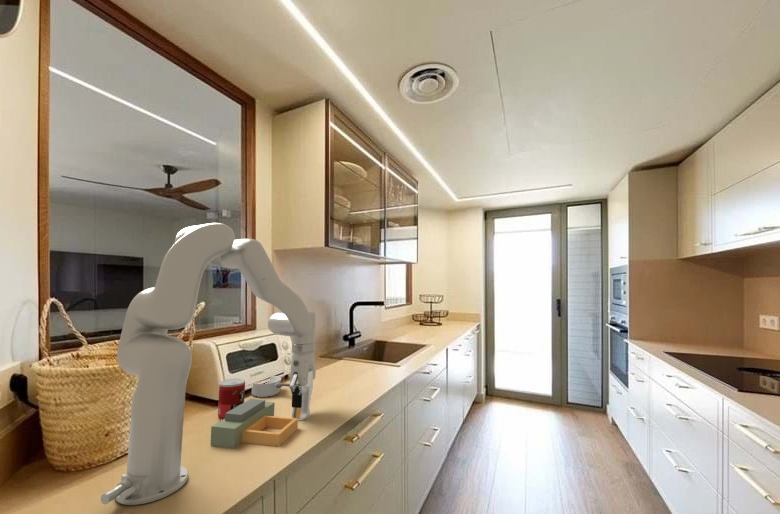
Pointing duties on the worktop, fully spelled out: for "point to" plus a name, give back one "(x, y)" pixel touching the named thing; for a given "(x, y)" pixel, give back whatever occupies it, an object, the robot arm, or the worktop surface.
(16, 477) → the worktop surface
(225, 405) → the canned food
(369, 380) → the worktop surface
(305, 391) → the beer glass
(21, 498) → the worktop surface
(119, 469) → the worktop surface
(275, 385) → the saucepan
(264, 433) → the stepped block with tray
